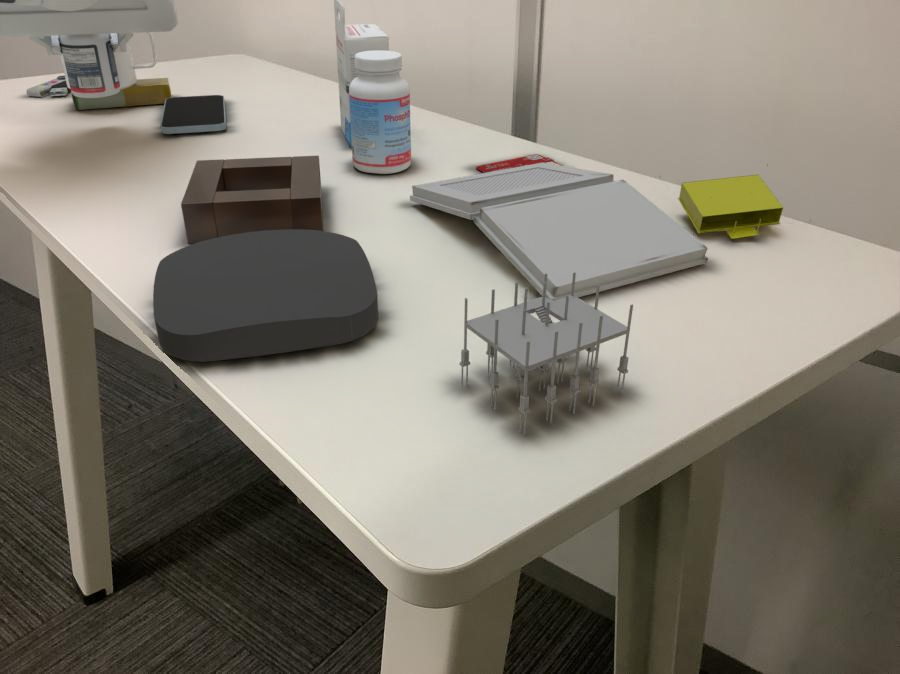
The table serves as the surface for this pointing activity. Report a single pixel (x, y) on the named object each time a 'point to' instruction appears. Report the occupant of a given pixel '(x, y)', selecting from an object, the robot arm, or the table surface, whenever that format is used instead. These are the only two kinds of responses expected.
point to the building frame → (545, 340)
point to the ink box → (352, 57)
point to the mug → (124, 65)
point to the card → (515, 163)
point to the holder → (252, 196)
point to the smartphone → (193, 114)
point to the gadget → (568, 226)
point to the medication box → (130, 95)
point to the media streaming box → (263, 295)
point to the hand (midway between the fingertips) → (87, 48)
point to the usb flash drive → (56, 88)
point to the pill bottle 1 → (90, 65)
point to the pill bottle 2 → (380, 113)
